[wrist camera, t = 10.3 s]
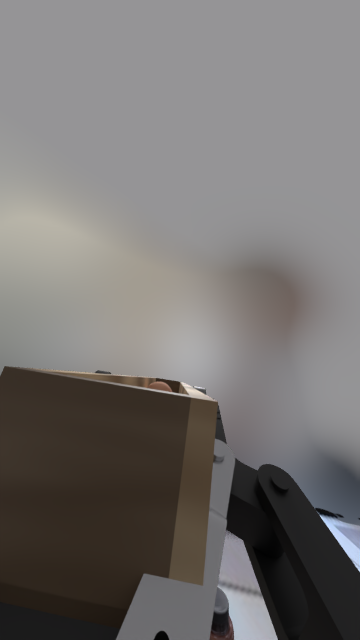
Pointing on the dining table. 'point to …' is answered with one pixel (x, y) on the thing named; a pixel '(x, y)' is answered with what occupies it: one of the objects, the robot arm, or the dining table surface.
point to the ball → (160, 386)
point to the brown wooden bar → (100, 489)
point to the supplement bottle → (221, 619)
